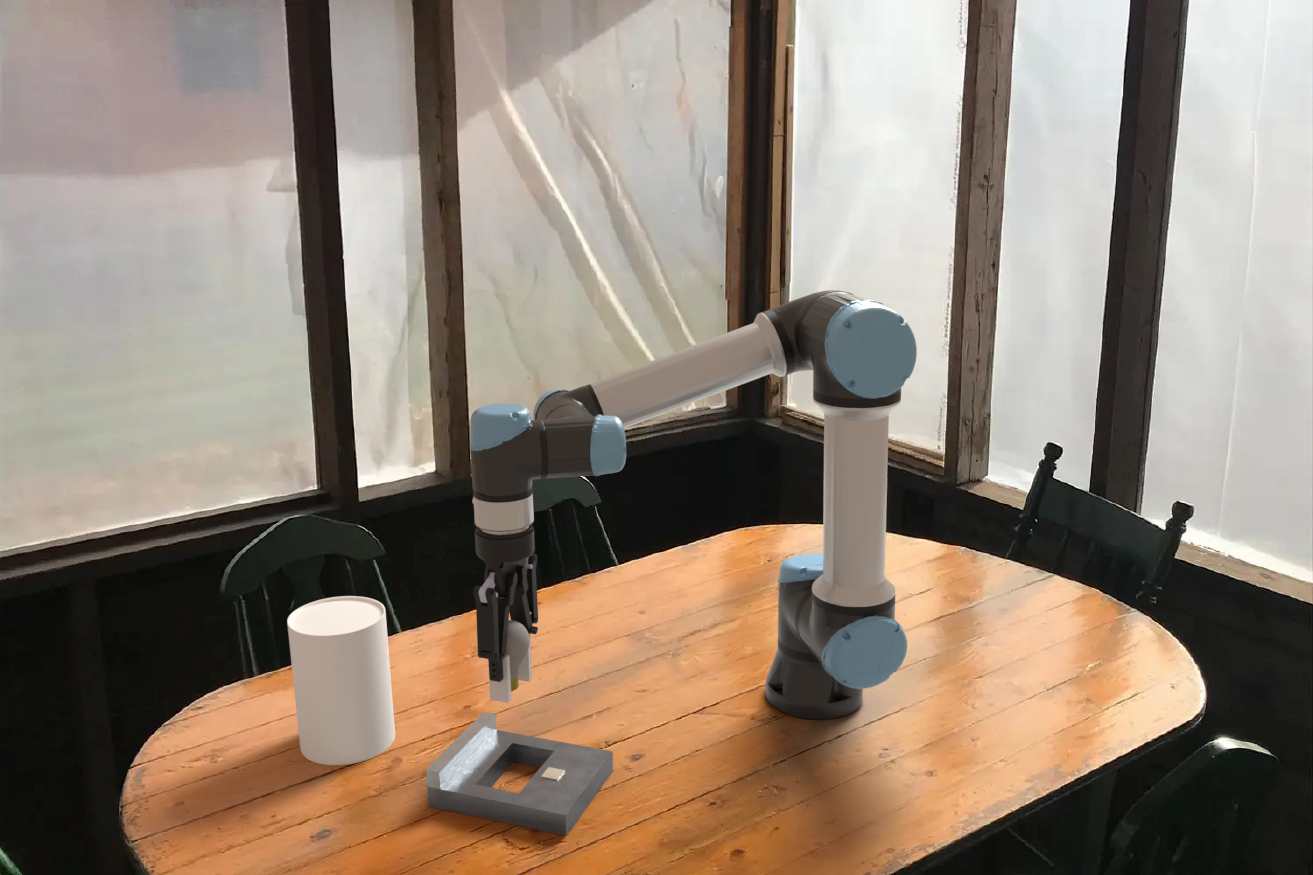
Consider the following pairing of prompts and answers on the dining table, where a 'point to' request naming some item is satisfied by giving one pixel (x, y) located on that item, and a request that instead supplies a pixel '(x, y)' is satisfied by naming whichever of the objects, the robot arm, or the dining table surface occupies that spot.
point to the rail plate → (546, 797)
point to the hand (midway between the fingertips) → (511, 688)
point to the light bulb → (516, 649)
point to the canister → (342, 679)
